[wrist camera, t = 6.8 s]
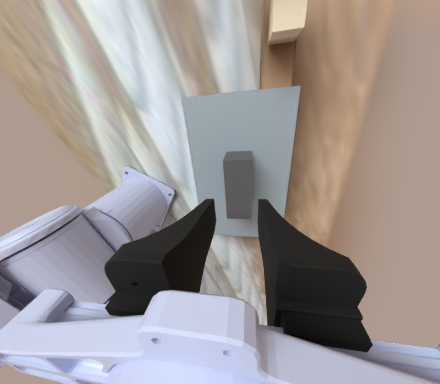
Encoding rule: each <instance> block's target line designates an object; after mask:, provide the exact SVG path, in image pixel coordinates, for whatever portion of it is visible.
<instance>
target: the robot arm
mask: <svg viewBox="0 0 440 384" xmlns="http://www.w3.org/2000/svg"><path fill="white" fill-rule="evenodd" d="M127 172H128V173H127ZM170 194H172V195H170ZM174 194H175V190H174V189H172V188H170V187H168V186H166V185H164V184H162V183H160V182H158V181H156V180H154V179H152V178H150V177H148V176H146V175H144V174H142V173H140V172H138V171H137V170H135V169H133V168H131V167H128V166H127V167H125V168H124V171H123V177H122V182H121V185H120V186H119V187H117V188H116V189H114V190H112V191H111V192H109V193H108V194H106V195H104V196H103V197H101V198H100V199H98V200H96V201H95V202H93V203H92V204H90V205H89V206H87V207H85V208H84V209H82V210H81V209H80V208H79V207H78V206H68V205H66V206H62V207H60V208H57V209H55V210H53V211H51V212H48V213H46V214H44V215H42V216H40V217H38V218H36V219H34V220H32V221H30V222H28V223H26V224H24V225H22V226H21V227H18V228H17V229H15V230H13V231H11V232H9V233H7V234H5V235H4V236H2V237H0V367H4V366H6V365H10V366H12V367H13V368H15V369H17V370H18V371H20V372H23V373H27V374H31V375H35V376H39V377H42V378H46V379H49V380H53V381H56V382H59V383H62V384H440V345H439V346H438V348H431V347H423V346H416V345H408V344H401V343H393V342H386V341H378V340H371V339H370V338H369V336H368V334H367V332H366V330H365V328H364V327H363V325H362V323H361V321H360V320H362V319H363V317H362V315H361V313H360V311H359V309H358V305H359V303H360V301H361V299H362V298H363V296H364V294H365V292H366V288H367V286H366V282H365V280H364V278H363V277H362V275H361V274H360V272H359V271H358V269H357V268H356V266H354V264H353V263H352V261H351V260H350V259H349V258H348V257H346V256H343V255H341V254H339V253H337V252H335V251H332V250H330V249H328V248H326V247H324V246H322V245H321V244H319V243H317V242H315V241H313V240H312V239H310V238H309V237H307V236H305V235H304V234H302V233H301V232H299V231H298V230H297V229H295V228H294V227H293V226H292V225H290V224H289V223H288V222H287V221H286V220H285V219H284V218H283V217H282V216H281V215H280V214H279V213H278V212H277V211H276V210H275V208H274V207H273V206H272V205H271V203H270V202H269V201H268V200H267V199H258V236H259V241H260V247H261V253H262V258H263V265H264V277H265V292H266V307H267V324H268V326H266V325H259V317H258V314H257V312H256V310H255V308H254V307H253V306H252V305H250V304H249V303H247V302H246V301H244V300H242V299H239V298H235V297H231V296H223V295H213V294H204V293H199V291H200V286H201V280H202V275H203V270H204V265H205V261H206V257H207V254H208V251H209V248H210V245H211V241H212V238H213V235H214V232H215V226H216V212H215V202H214V199H205V200H204V201H203V202H202V203H201V204H199V205H198V206H197V207H196V208H195V209H193V210H192V211H191V212H190V213H188V214H187V215H186V216H184V217H183V218H181V219H180V220H178V221H177V222H175V223H173V224H172V225H170V226H168V227H166V228H164V229H162V230H160V229H161V226H162V224H163V221H164V219H165V216H166V214H167V212H168V209H169V207H170V204H171V202H172V199H173V197H174ZM152 230H154V231H157V232H156V233H154V234H151V235H149V234H150V233H151V232H152ZM159 230H160V231H159Z"/></svg>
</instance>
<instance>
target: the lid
mask: <svg viewBox="0 0 440 384" xmlns="http://www.w3.org/2000/svg"><path fill="white" fill-rule="evenodd" d="M300 88H301V86H291V87H281V88H271V89H261V90H252V91H242V92H232V93H222V94H212V95H202V96H193V97H183V98H182V104H183V111H184V117H185V123H186V129H187V135H188V141H189V148H190V154H191V160H192V166H193V172H194V179H195V185H196V191H197V197H198V203H199V204H201V203H202V202H203V201H204V200H205V199H214V202H215V212H216V226H215V232H214V235H226V236H248V237H259V236H258V199H267V200H268V201H269V202H270V203H271V205H272V206H273V207H274V208H275V210H276V211H277V212H278V213H279V214H280V215H281V216H282V217H283V218H284V214H285V206H286V198H287V190H288V182H289V175H290V167H291V159H292V151H293V143H294V135H295V127H296V119H297V111H298V104H299V96H300Z"/></svg>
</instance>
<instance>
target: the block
mask: <svg viewBox="0 0 440 384" xmlns="http://www.w3.org/2000/svg"><path fill="white" fill-rule="evenodd" d="M307 1H308V0H270V8H269V30H268V45H272V44H279V43H286V42H293V41H295V39H296V38H297V37H298V35H299V34H300V33H301V31H302V30H303V28H304V26H305V18H306V9H307Z"/></svg>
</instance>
